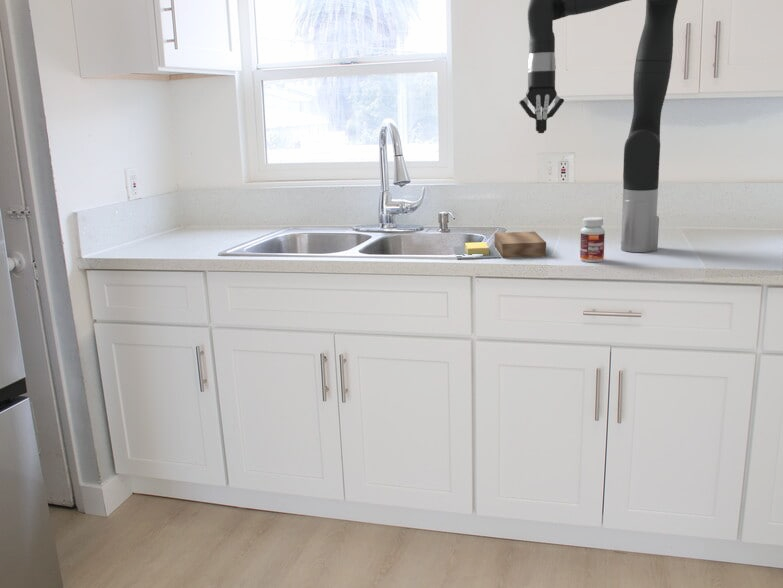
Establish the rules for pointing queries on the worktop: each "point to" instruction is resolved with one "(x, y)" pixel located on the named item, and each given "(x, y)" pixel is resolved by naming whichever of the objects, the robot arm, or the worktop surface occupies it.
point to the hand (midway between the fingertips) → (540, 133)
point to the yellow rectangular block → (477, 248)
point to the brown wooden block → (520, 244)
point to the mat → (461, 251)
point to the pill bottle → (592, 240)
